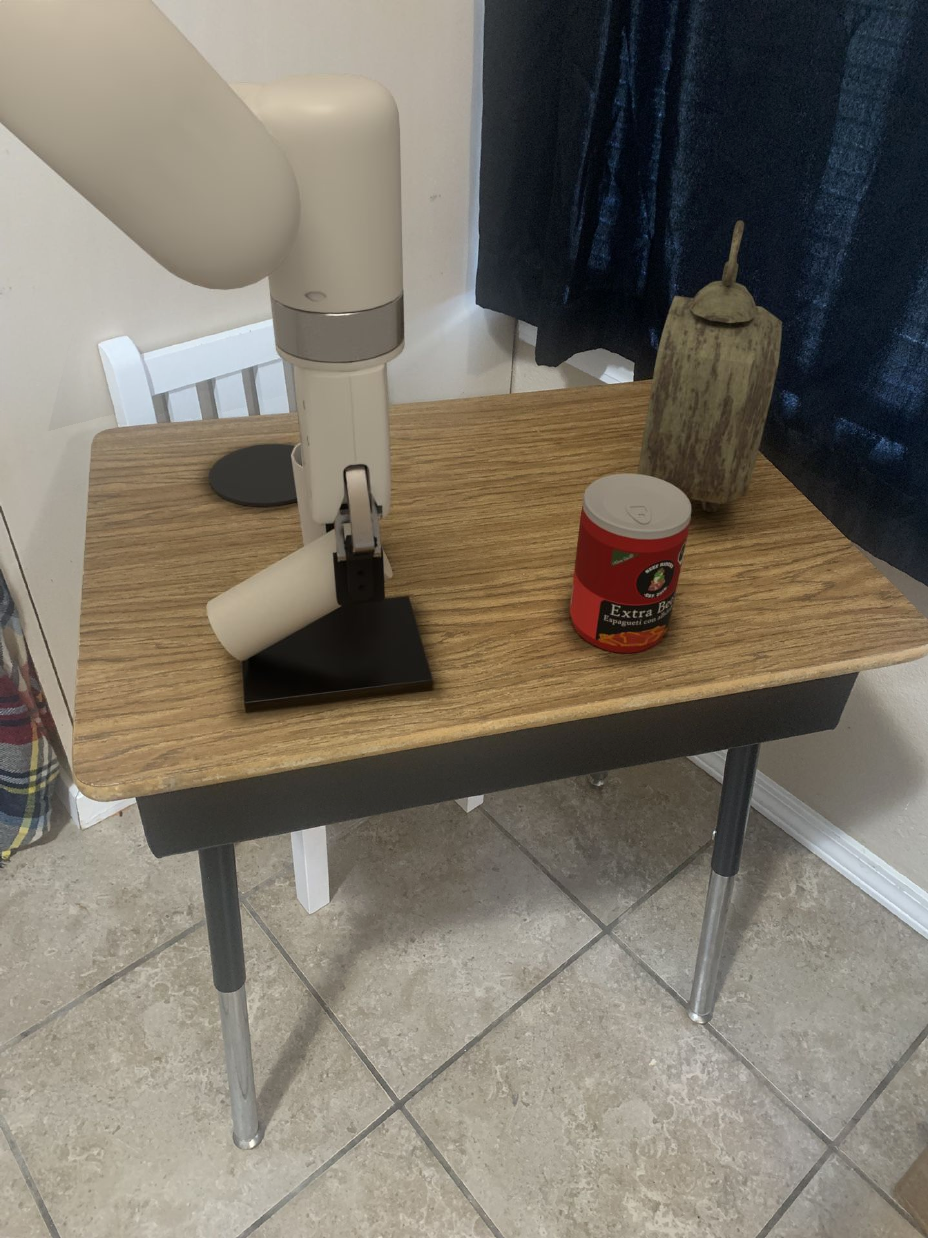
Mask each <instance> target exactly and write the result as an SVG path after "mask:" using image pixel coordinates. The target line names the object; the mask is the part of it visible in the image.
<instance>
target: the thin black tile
mask: <svg viewBox="0 0 928 1238" xmlns="http://www.w3.org/2000/svg"><path fill="white" fill-rule="evenodd" d="M240 661H241V660H240ZM241 675H242V676H241V677H242V693H243V706H244V712H245V714H250V713H258V712H267V711H276V710H282V709H283V710H284V709H291V708H299V707H306V706H307V707H308V706H314V705H316V706H317V705H323V704H331V703H338V702H339V703H340V702H348V701H355V700H363V699H371V698H380V697H386V696H395V695H396V696H397V695H404V694H412V693H418V692H427V691H433V690H434V679H433V675H432V672H431V668H430V665H429V660H428V657H427V654H426V650H425V647H424V644H423V640H422V637H421V632H420V630H419V626H418V622H417V619H416V615H415V612H414V608H413V605H412V602H411V598H410V596H409V595H403V596H395V597H385V598H384V599H383V600H382V601H379V602H371V603H362V604H354V605H345V606H341V607H339V608H337V609H335V610H333V611H332V612H330V613H328V614H326V615H325V616H323V617H321V618H319V619H317V620H316V621H314V622H312V623H310V624H309V625H307V626H305V627H303V628H302V629H300V630H298V631H296V632H294V633H293V634H291V635H289V636H287V637H286V638H284V639H282V640H280V641H278V642H277V643H275V644H273V645H271V646H270V647H268V648H266V649H264V650H262V651H261V652H259V653H257V654H255V655H254V656H252V657H250V658H248V659H246V660H244V661H241Z"/></svg>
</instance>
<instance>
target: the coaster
mask: <svg viewBox="0 0 928 1238" xmlns="http://www.w3.org/2000/svg"><path fill="white" fill-rule="evenodd" d="M295 446H296V445H291V444H281V443H267V444H258V445H252V446H247V447H244V448H239V449H237V450H234V451H231V452H230V453H227V454H225V455H224V456H223V457H221V458H219V459H218V460H217V461H216V462H215V463H214V464H213V465H212V466H211V468H210V470H209V473H208V481H209V486H210V488H211V490H212V491H213V492H214V493H215V494H216V495H217V496H219V497H221V498H222V499H224V500H226V501H228V502H231V503H235V504H238V505H241V506H247V507H258V508H259V507H267V508H268V507H278V506H279V507H280V506H285V505H289V504H293V503H296V502H297V503H298V501H297V494H296V487H295V480H294V473H293V465H292V458H291V454H292V451H293V449H294V447H295Z"/></svg>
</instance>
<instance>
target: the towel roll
mask: <svg viewBox="0 0 928 1238" xmlns="http://www.w3.org/2000/svg"><path fill="white" fill-rule="evenodd" d="M343 525H344V536H345V539H346V535H351V526H350V523H345V524H343ZM382 549H383V547H382ZM334 552H337V548H336V538H335V529H333V530H331V531H330V532H328V533H326V534H324V535H323V536H321V537H319V538H318V539H316V540H314V541H312V542H311V543H309V544H307V545H305V546H304V545H303V546H302V547H300V548H299V549H297V550H295V551H293V552H292V553H290V554H288V555H286V556H285V557H283V558H280V559H279V560H278V561H275V562H274V563H273V564H270V565H269V566H267V567H265V568H263V569H262V570H261V571H258V572H257V573H255V574H253V575H252V576H250V577H248V578H246V579H245V580H243V581H241V582H239V583H238V584H236V585H234V586H232V587H231V588H229V589H228V590H226V591H223V592H222V593H220V594H219V595H217V596H215V597H213V598H211V599H210V600H209V601H208V602H207V604H206V615H207V618H208V621H209V624H210V626H211V629H212V631H213V633H214V635H215V637H216V638H217V640H218V641H219V643H220V644H221V645H222V646H223V648H224V649H225V650H226V651H227V652H228V654H230V655H231V656H232V657H233V658H235V659H236V660H238V661H244V660H246V659H248V658H250V657H252V656H254V655H255V654H257V653H259V652H261V651H262V650H264V649H266V648H268V647H270V646H271V645H273V644H275V643H277V642H278V641H280V640H282V639H284V638H286V637H287V636H289V635H291V634H293V633H294V632H296V631H298V630H300V629H302V628H303V627H305V626H307V625H309V624H310V623H312V622H314V621H316V620H317V619H319V618H321V617H323V616H325V615H326V614H328V613H330V612H332V611H333V610H335V609H337V608H339V607H341V605H339V604H338V603H337V598H336V588H335V576H334V563H333V553H334ZM383 562H384V583H386V582H387V581H389V580H391V579H392V578H393V576H394V575H393V570H392V569H393V568H392V565H391V563H390V561H389V559H388V557H387V554H386V552H385V550H384V549H383Z"/></svg>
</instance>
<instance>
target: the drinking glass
mask: <svg viewBox="0 0 928 1238" xmlns="http://www.w3.org/2000/svg"><path fill="white" fill-rule="evenodd" d="M294 446H295V447H294V449H293V451H292V454H291V458H292V465H293V473H294V480H295V487H296V494H297V508H298V515H299V522H300V528H301V529H300V530H301V535H302V542H303V547H304V546H305V545H307V544H309V543H311V542H312V541H314V540H316V539H318V538H319V537H321V536H323V535H324V534H326V526H325V524H323V525H322V526H320V525H318V524H317V523H315V522H314V521H313V520H312V518H311V514H310V509H309V503H308V498H307V492H306V486H305V480H304V474H303V467H302V457H301V444H300V442H298V444H296V445H294ZM369 502H370V501H369Z"/></svg>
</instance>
